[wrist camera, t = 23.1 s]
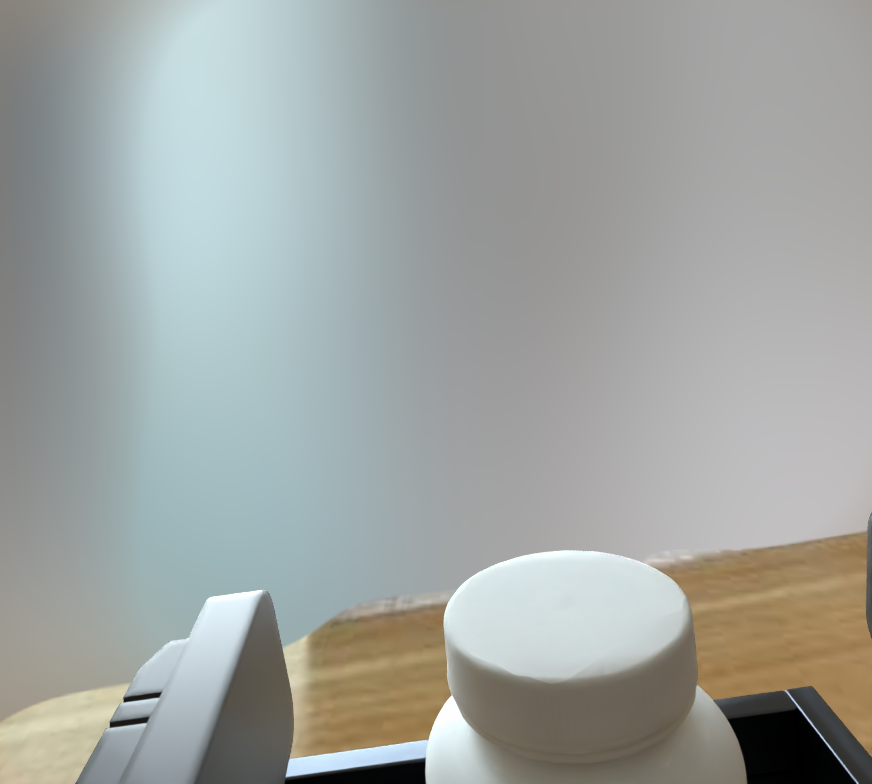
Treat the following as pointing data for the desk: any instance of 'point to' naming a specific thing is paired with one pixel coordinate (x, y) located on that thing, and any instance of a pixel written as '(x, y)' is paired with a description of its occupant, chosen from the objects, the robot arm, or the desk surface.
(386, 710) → the desk surface
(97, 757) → the robot arm
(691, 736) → the pill bottle
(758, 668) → the desk surface
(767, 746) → the bin
